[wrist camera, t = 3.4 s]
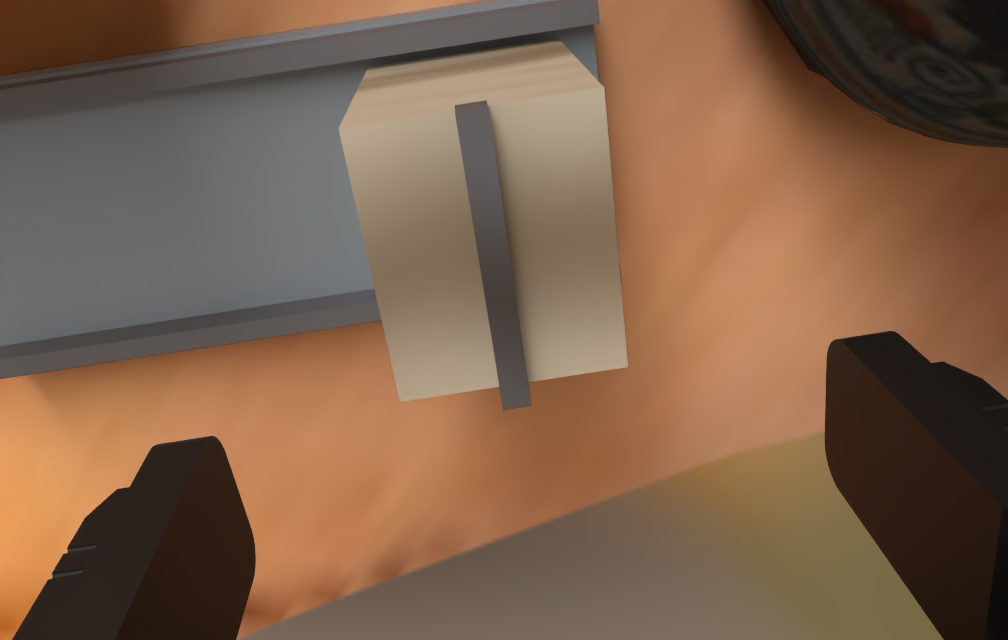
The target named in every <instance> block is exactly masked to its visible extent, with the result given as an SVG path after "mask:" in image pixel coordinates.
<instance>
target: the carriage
mask: <svg viewBox="0 0 1008 640" xmlns="http://www.w3.org/2000/svg"><path fill="white" fill-rule="evenodd" d="M339 133H340V138H341V142H342V147H343V151H344V155H345V160H346V164H347V169H348V173H349V178H350V182H351V187H352V191H353V196H354V200H355V204H356V209H357V213H358V218H359V222H360V227H361V231H362V236H363V240H364V245H365V249H366V253H367V258H368V262H369V267H370V271H371V276H372V280H373V285H374V289H375V294H376V298H377V302H378V307H379V311H380V316H381V320H382V325H383V329H384V334H385V338H386V343H387V347H388V351H389V356H390V360H391V365H392V369H393V374H394V378H395V383H396V387H397V392H398V396H399V401H400V402H404V401H410V400H417V399H423V398H430V397H436V396H443V395H449V394H456V393H462V392H469V391H475V390H482V389H488V388H495V387H500V393H501V399H502V406H503V410H506V409H513V408H519V407H526V406H532V405H531V398H530V391H529V384H528V382H534V381H540V380H547V379H553V378H560V377H566V376H573V375H579V374H586V373H593V372H599V371H606V370H612V369H619V368H625V367H628V362H627V350H626V339H625V327H624V315H623V303H622V291H621V279H620V268H619V256H618V244H617V232H616V220H615V208H614V197H613V185H612V173H611V161H610V149H609V137H608V126H607V114H606V102H605V90H604V87H603V86H602V85H601V84H600V83H599V82H598V80H597V79H596V78H595V77H594V76H593V75H592V74H591V73H590V72H589V71H588V70H587V69H586V68H585V66H584V65H583V64H582V63H581V62H580V61H579V60H578V59H577V58H576V57H575V56H574V55H573V54H572V53H571V51H570V50H569V49H568V48H567V47H566V46H565V45H564V44H563V43H562V42H561V41H560V40H559V39H558V38H555V39H549V40H542V41H536V42H529V43H523V44H516V45H510V46H503V47H497V48H490V49H484V50H477V51H471V52H464V53H457V54H451V55H444V56H438V57H431V58H425V59H418V60H412V61H405V62H399V63H392V64H386V65H379V66H373V67H368V68H367V70H366V72H365V75H364V77H363V79H362V81H361V83H360V85H359V87H358V89H357V91H356V93H355V95H354V97H353V99H352V102H351V104H350V106H349V108H348V110H347V112H346V114H345V116H344V118H343V120H342V122H341V124H340V126H339Z"/></svg>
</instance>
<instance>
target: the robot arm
mask: <svg viewBox="0 0 1008 640" xmlns="http://www.w3.org/2000/svg"><path fill="white" fill-rule="evenodd" d="M825 451H826V457H827V461H828V466H829V469H830V472H831V475H832V477H833V480H834V482H835V484H836V486H837V488H838V489H839V491H840V492H841V493H842V495H843V496H844V498H845V499H846V501H847V502H848V504H849V505H850V507H851V508H852V509H853V511H854V512H855V514H856V515H857V516H858V518H859V519H860V521H861V522H862V524H863V525H864V526H865V528H866V529H867V531H868V532H869V534H870V535H871V536H872V538H873V539H874V541H875V542H876V544H877V545H878V546H879V548H880V549H881V551H882V552H883V553H884V555H885V556H886V558H887V559H888V561H889V562H890V564H891V565H892V566H893V568H894V569H895V571H896V572H897V574H898V575H899V576H900V578H901V579H902V581H903V582H904V584H905V585H906V586H907V588H908V589H909V591H910V592H911V594H912V595H913V596H914V598H915V599H916V601H917V602H918V604H919V605H920V606H921V608H922V609H923V611H924V612H925V614H926V615H927V616H928V618H929V619H930V621H931V622H932V624H933V625H934V626H935V628H936V629H937V631H938V632H939V633H940V635H941V636H942V637H943V639H944V640H1008V400H1007V399H1006V398H1005V397H1003V396H1002V395H1001V394H1000V393H999V392H997V391H996V390H995V389H994V388H993V387H992V386H990V385H989V384H988V383H987V382H986V381H984V380H983V379H982V378H979V377H977V376H975V375H973V374H970V373H968V372H966V371H963V370H961V369H959V368H956V367H954V366H952V365H950V364H947V363H945V362H943V361H942V362H936V363H930V362H929V361H928V360H927V359H926V358H925V357H924V356H923V355H922V354H920V353H919V352H918V351H917V350H916V349H915V348H914V347H913V346H912V345H910V344H909V343H908V342H907V341H906V340H905V339H904V338H903V337H902V336H900V335H899V334H898V333H896V332H894V331H888V332H881V333H875V334H868V335H862V336H856V337H849V338H843V339H837V340H834V341H832V342H831V344H830V346H829V349H828V353H827V370H826V409H825ZM67 549H68V553H66V554H63V556H62V557H61V559H60V561H59V562H58V564H57V566H56V567H55V569H54V571H53V572H52V574H53V578H52V579H49V580H48V581H47V582H46V584H45V586H44V587H43V589H42V591H41V592H40V594H39V596H38V597H37V599H36V601H35V602H34V604H33V606H32V607H31V609H30V611H29V612H28V614H27V616H26V617H25V619H24V621H23V622H22V624H21V626H20V627H19V629H18V631H17V632H16V634H15V636H14V637H13V639H12V640H236V638H237V635H238V631H239V628H240V624H241V621H242V617H243V614H244V610H245V607H246V603H247V600H248V597H249V593H250V590H251V586H252V583H253V579H254V574H255V558H256V557H255V544H254V538H253V533H252V530H251V526H250V523H249V520H248V517H247V515H246V512H245V509H244V506H243V503H242V500H241V497H240V494H239V491H238V488H237V485H236V482H235V479H234V476H233V473H232V470H231V467H230V464H229V461H228V458H227V456H226V453H225V450H224V448H223V446H222V444H221V442H220V441H219V440H218V439H217V438H216V437H214V436H208V437H202V438H196V439H189V440H183V441H177V442H170V443H164V444H157V445H155V446H153V447H152V448H151V450H150V451H149V453H148V455H147V457H146V459H145V460H144V462H143V464H142V466H141V468H140V469H139V471H138V473H137V475H136V477H135V478H134V480H133V482H132V484H131V486H130V487H128V488H122V489H117V490H116V491H115V492H113V493H112V494H111V495H110V496H109V497H108V498H107V499H106V500H104V501H103V502H102V503H101V504H100V505H99V506H98V507H97V508H96V509H94V510H93V511H92V512H91V513H90V514H89V515H88V516H87V517H86V518H85V519H84V521H83V522H82V524H81V526H80V527H79V529H78V531H77V532H76V534H75V536H74V537H73V539H72V541H71V542H70V544H69V546H68V547H67Z"/></svg>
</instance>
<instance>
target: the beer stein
mask: <svg viewBox="0 0 1008 640" xmlns="http://www.w3.org/2000/svg"><path fill="white" fill-rule="evenodd" d="M763 2H764V3H765V5H766V6H767V8H768V9H769V11H770V12H771V14H772V15H773V17H774V18H775V20H776V21H777V23H778V24H779V26H780V27H781V29H782V30H783V32H784V33H785V35H786V36H787V38H788V39H789V41H790V42H791V44H792V45H793V47H794V48H795V50H796V51H797V53H798V54H799V56H800V57H801V59H802V60H803V62H804V63H805V65H806V66H807V68H808V69H809V70H811V71H813V72H815V73H817V74H819V75H821V76H823V77H825V78H827V79H828V80H829V81H830V82H831V83H832V84H833V85H834V86H836V87H837V88H838V89H839V90H841V91H842V92H843V93H845V94H846V95H847V96H848V97H850V98H851V99H852V100H853V101H855V102H856V103H857V104H859V105H860V106H862V107H864V108H865V109H867V110H869V111H871V112H872V113H874V114H876V115H877V116H879V117H881V118H883V119H884V120H886V121H888V122H889V123H891V124H894V125H896V126H899V127H902V128H905V129H908V130H910V131H913V132H916V133H919V134H921V135H924V136H927V137H930V138H934V139H938V140H943V141H947V142H952V143H959V144H966V145H974V146H987V147H1002V148H1008V0H763Z"/></svg>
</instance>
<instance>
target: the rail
mask: <svg viewBox="0 0 1008 640" xmlns="http://www.w3.org/2000/svg"><path fill="white" fill-rule="evenodd" d="M598 23H599V12H598V0H488V1H482V2H475V3H469V4H462V5H456V6H449V7H443V8H436V9H430V10H423V11H417V12H410V13H404V14H397V15H391V16H384V17H378V18H371V19H365V20H358V21H352V22H345V23H339V24H332V25H326V26H319V27H313V28H306V29H300V30H293V31H287V32H280V33H274V34H267V35H261V36H254V37H248V38H241V39H235V40H228V41H222V42H215V43H209V44H202V45H196V46H189V47H183V48H176V49H170V50H163V51H157V52H150V53H143V54H137V55H130V56H124V57H117V58H111V59H104V60H98V61H91V62H85V63H78V64H72V65H65V66H59V67H52V68H46V69H39V70H33V71H26V72H20V73H13V74H7V75H0V379H4V378H11V377H17V376H24V375H30V374H37V373H43V372H50V371H56V370H63V369H69V368H76V367H82V366H89V365H95V364H102V363H108V362H115V361H121V360H128V359H134V358H141V357H147V356H154V355H161V354H167V353H174V352H180V351H187V350H193V349H200V348H206V347H213V346H219V345H226V344H232V343H239V342H245V341H252V340H258V339H265V338H271V337H278V336H284V335H291V334H297V333H304V332H310V331H317V330H323V329H330V328H336V327H343V326H349V325H356V324H362V323H369V322H375V321H382V320H381V316H380V311H379V307H378V302H377V298H376V294H375V289H374V285H373V280H372V276H371V271H370V267H369V262H368V258H367V253H366V249H365V245H364V240H363V236H362V231H361V227H360V222H359V218H358V213H357V209H356V204H355V200H354V196H353V191H352V187H351V182H350V178H349V173H348V169H347V164H346V160H345V155H344V151H343V147H342V142H341V138H340V133H339V126H340V124H341V122H342V120H343V118H344V116H345V114H346V112H347V110H348V108H349V106H350V104H351V102H352V99H353V97H354V95H355V93H356V91H357V89H358V87H359V85H360V83H361V81H362V79H363V77H364V75H365V72H366V70H367V68H368V67H373V66H379V65H386V64H392V63H399V62H405V61H412V60H418V59H425V58H431V57H438V56H444V55H451V54H457V53H464V52H471V51H477V50H484V49H490V48H497V47H503V46H510V45H516V44H523V43H529V42H536V41H542V40H549V39H555V38H558V39H559V40H560V41H561V42H562V43H563V44H564V45H565V46H566V47H567V48H568V49H569V50H570V51H571V53H572V54H573V55H574V56H575V57H576V58H577V59H578V60H579V61H580V62H581V63H582V64H583V65H584V66H585V68H586V69H587V70H588V71H589V72H590V73H591V74H592V75H593V76H594V77H595V78H596V79H597V80H598V69H597V58H596V46H595V35H594V24H598ZM598 82H599V81H598ZM619 268H620V264H619ZM620 279H621V273H620Z"/></svg>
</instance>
